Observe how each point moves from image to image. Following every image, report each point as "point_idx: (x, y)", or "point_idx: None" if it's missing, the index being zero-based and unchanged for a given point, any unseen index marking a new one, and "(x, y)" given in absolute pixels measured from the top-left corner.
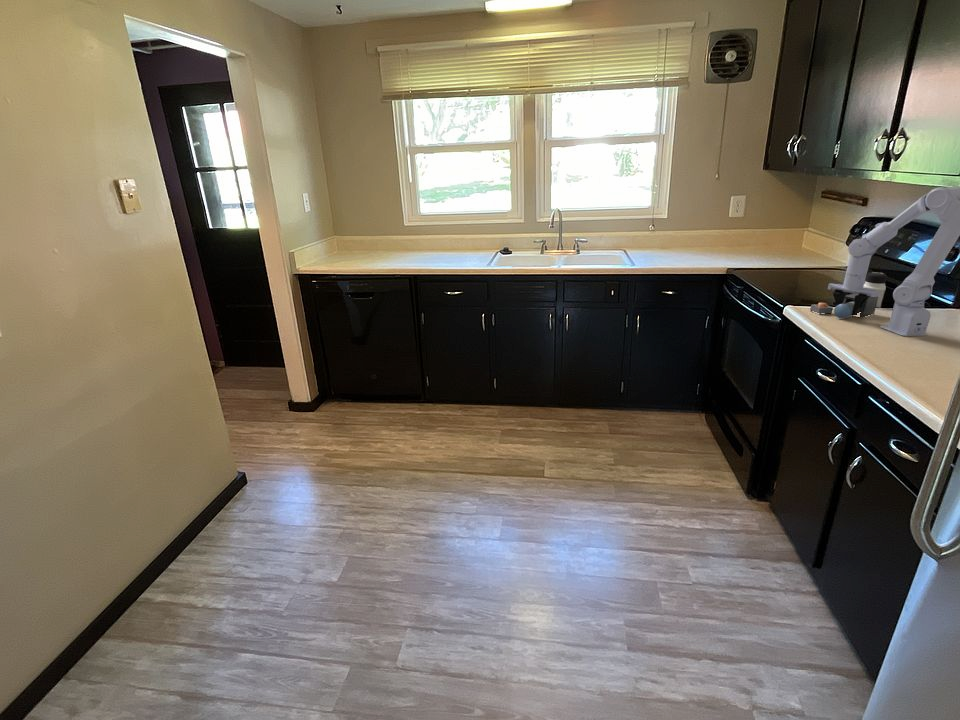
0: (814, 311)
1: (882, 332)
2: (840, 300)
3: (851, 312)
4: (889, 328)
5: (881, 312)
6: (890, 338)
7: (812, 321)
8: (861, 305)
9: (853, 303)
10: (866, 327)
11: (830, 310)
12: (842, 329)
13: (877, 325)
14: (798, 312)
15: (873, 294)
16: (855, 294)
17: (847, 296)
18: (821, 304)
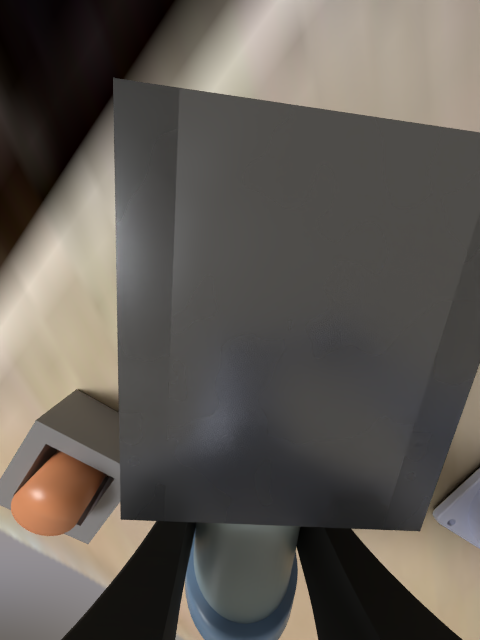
0: None
1: (443, 566)
2: (175, 622)
3: (295, 552)
4: (478, 540)
5: (388, 94)
6: (475, 615)
7: None
8: (356, 544)
9: (280, 527)
10: (375, 544)
11: None
12: (304, 632)
13: None
14: (21, 527)
15: None
16: (185, 264)
17: (164, 502)
18: (56, 530)
